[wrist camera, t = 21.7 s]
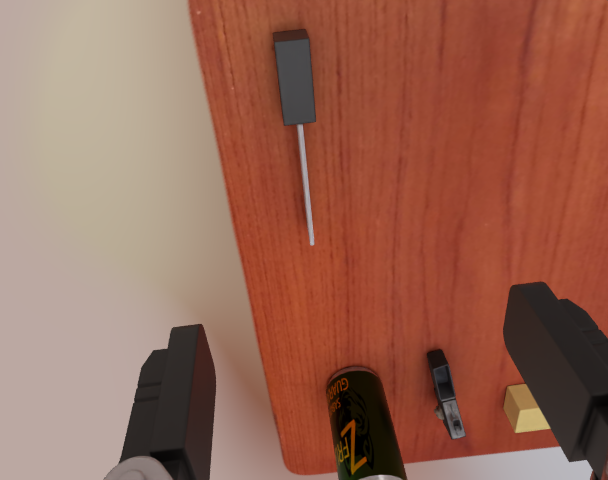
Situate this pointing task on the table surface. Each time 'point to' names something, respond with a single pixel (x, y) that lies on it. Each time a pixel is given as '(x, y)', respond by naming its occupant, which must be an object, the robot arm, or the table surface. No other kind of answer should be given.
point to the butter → (523, 410)
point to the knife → (296, 95)
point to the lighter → (445, 394)
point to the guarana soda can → (362, 427)
